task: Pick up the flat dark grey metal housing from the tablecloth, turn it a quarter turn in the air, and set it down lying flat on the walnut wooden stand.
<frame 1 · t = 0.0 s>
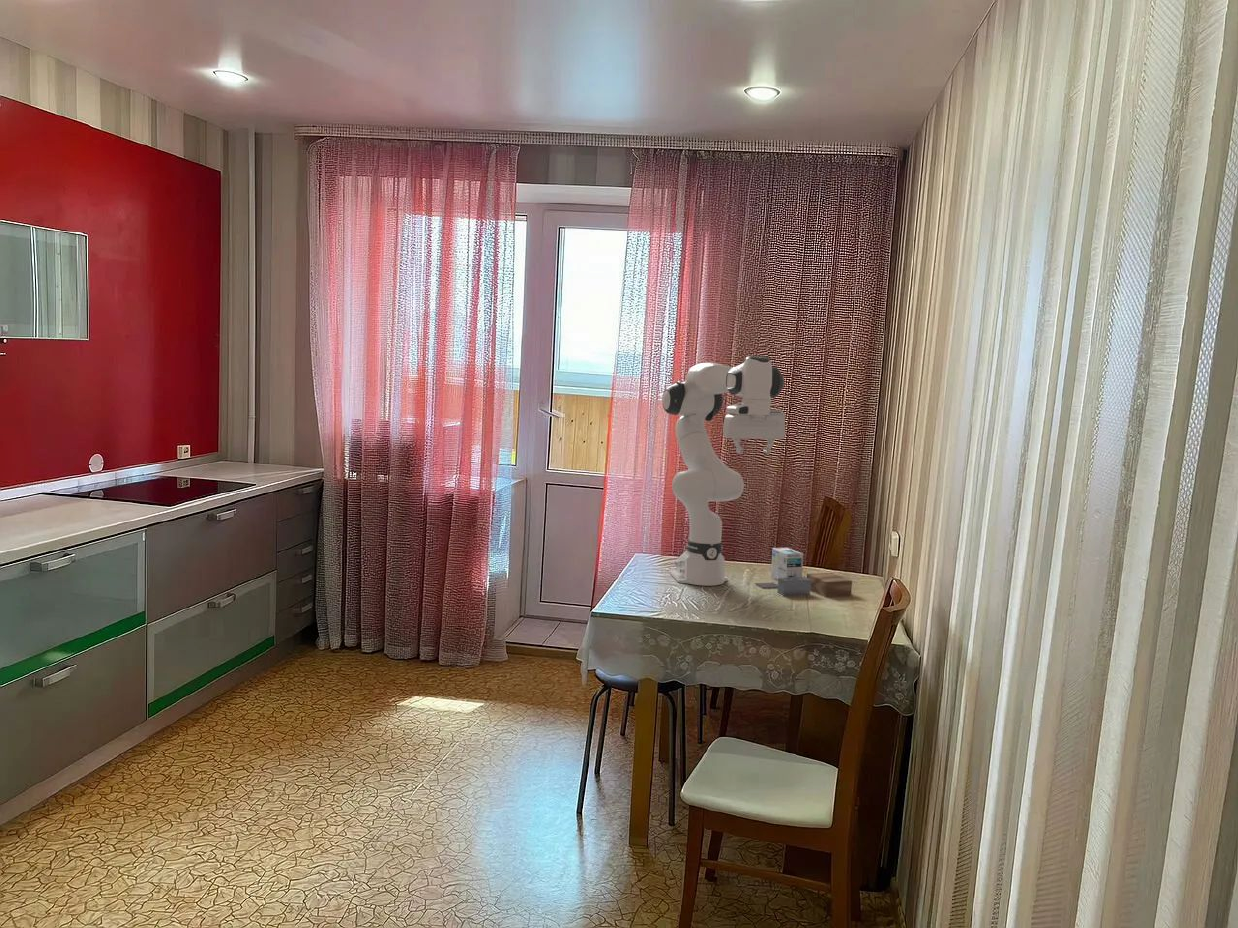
hand: (753, 453, 288), 48 cm above the table, tool pointing down, fingers open, 8 cm apart
wooden stand: (828, 591, 315), on the table
light bulb box: (785, 580, 330), on the table
metal housing: (793, 594, 309), on the table
loose cover plate: (767, 587, 319), on the table
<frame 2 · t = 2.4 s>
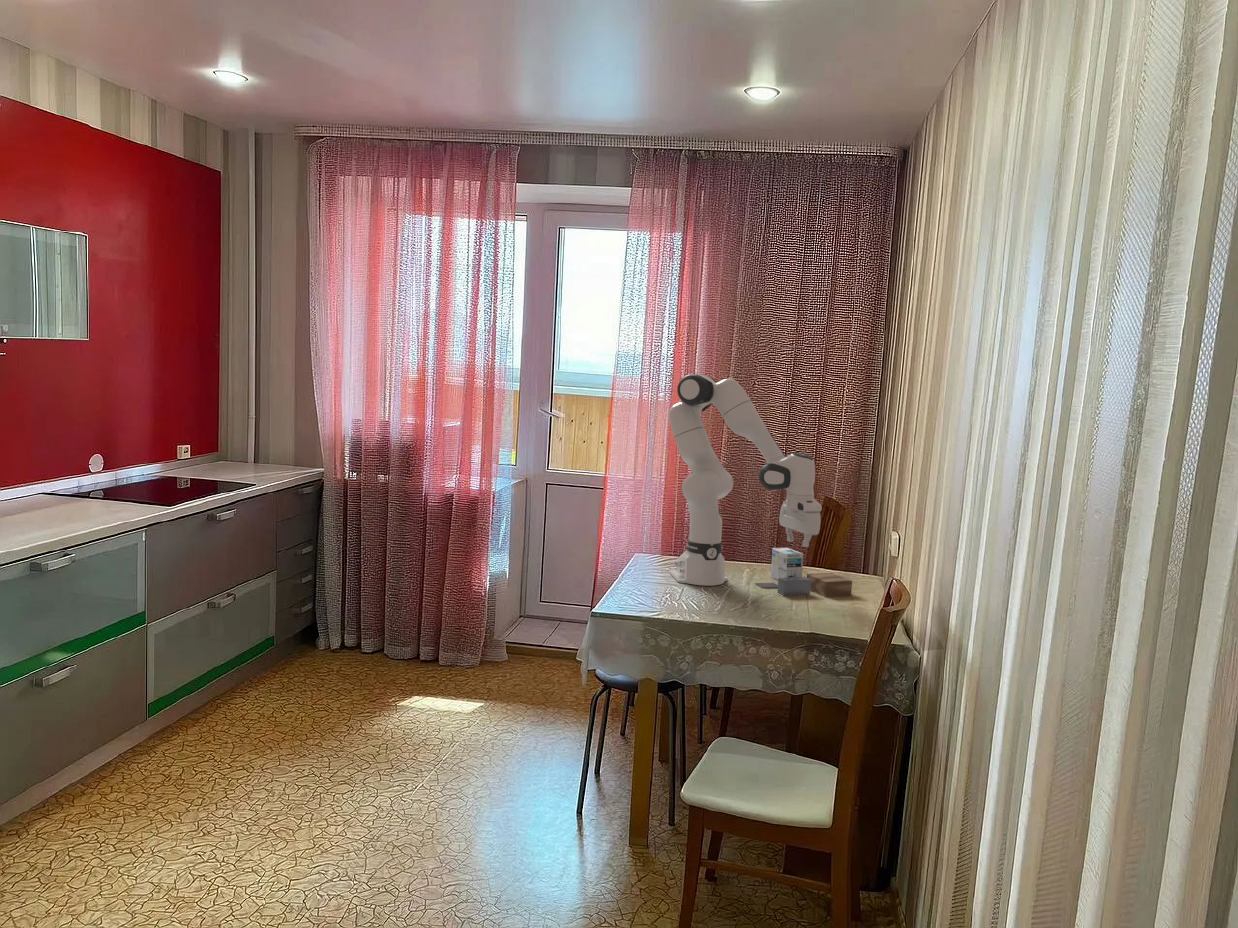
hand: (797, 543, 307), 17 cm above the table, tool pointing down, fingers open, 8 cm apart
nothing on the table moved.
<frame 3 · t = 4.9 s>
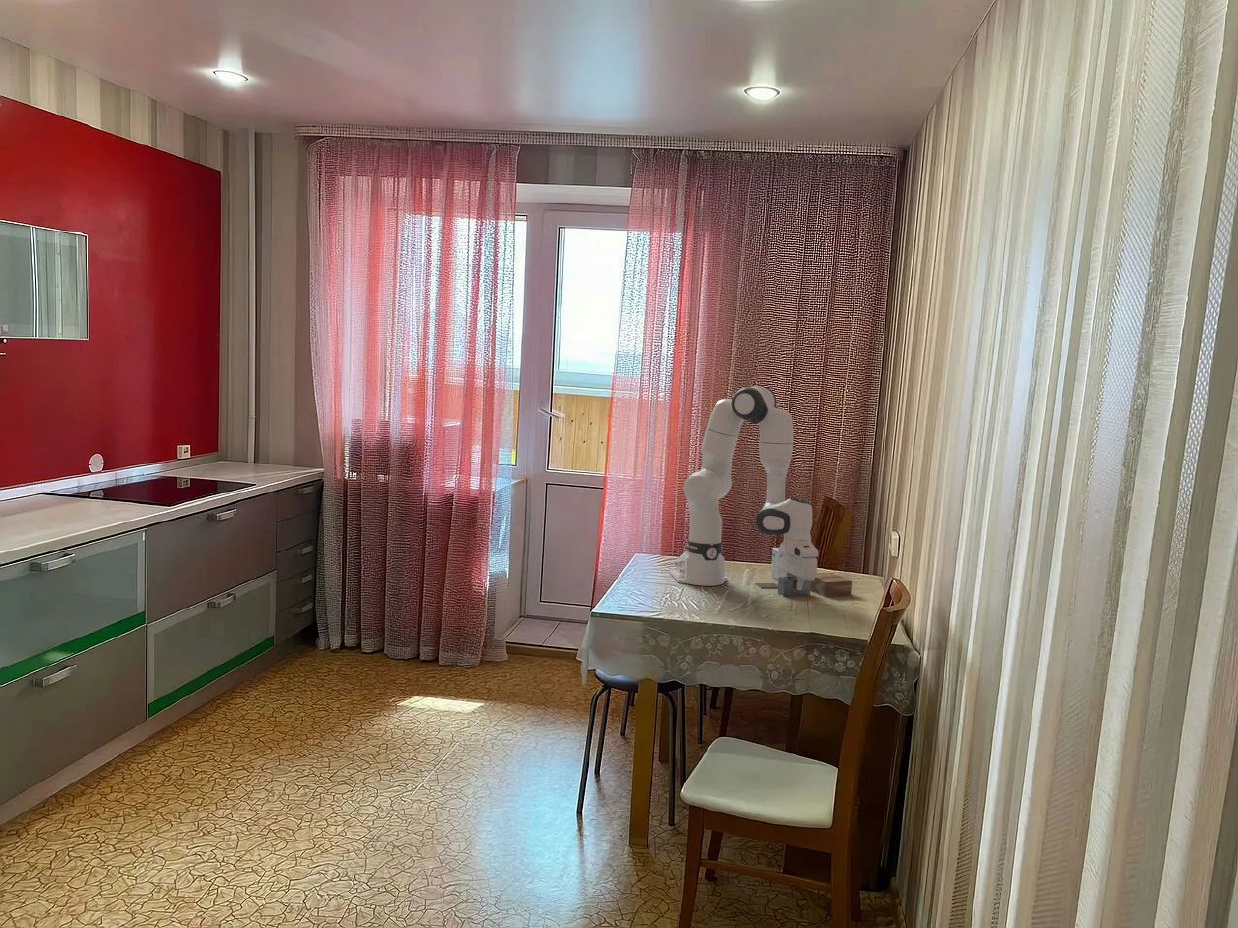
hand: (794, 587, 309), 2 cm above the table, tool pointing down, fingers closed on metal housing, 4 cm apart
metal housing: (793, 594, 309), on the table, touching gripper
everything else where it was.
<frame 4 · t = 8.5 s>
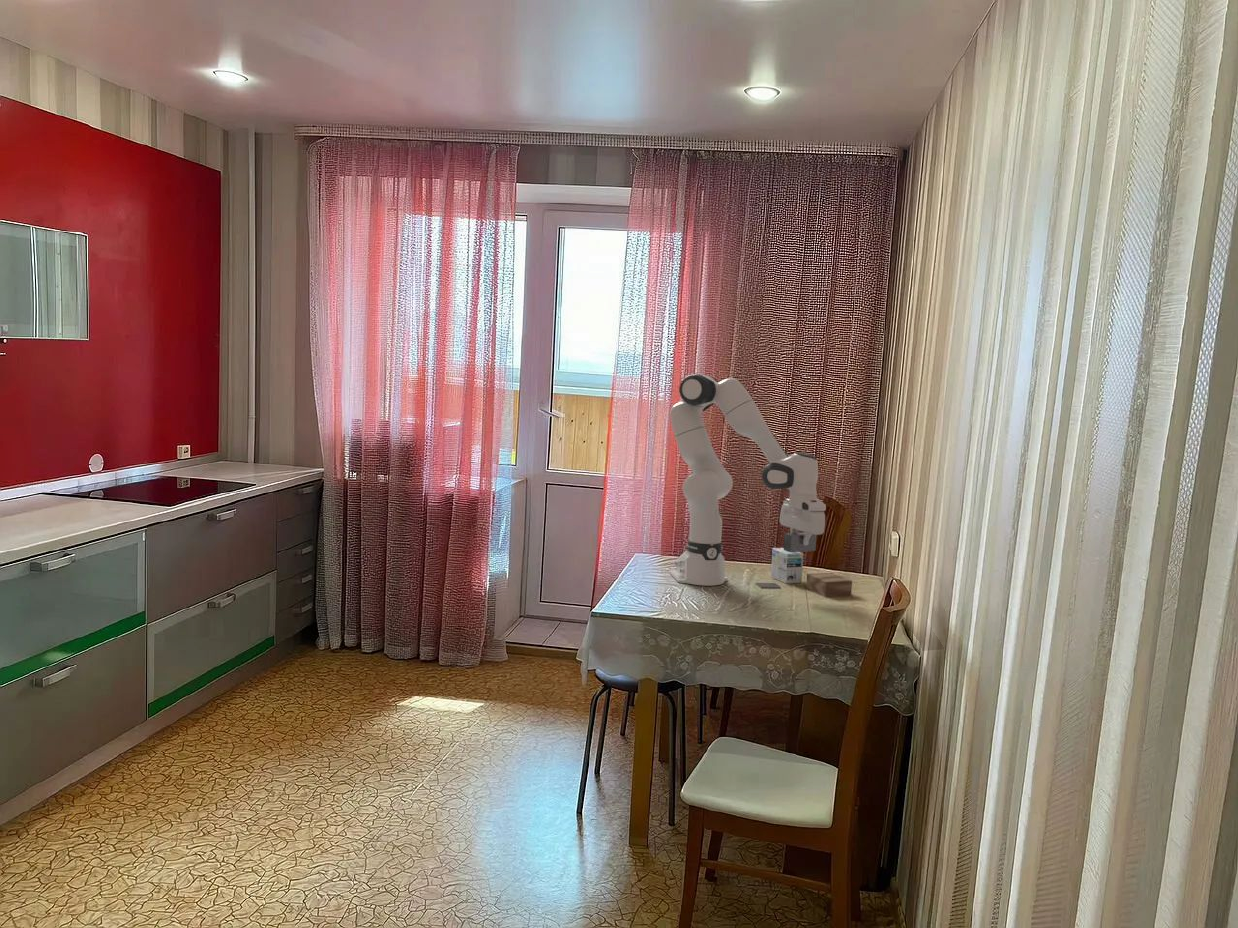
hand: (800, 543, 308), 17 cm above the table, tool pointing down, fingers closed on metal housing, 4 cm apart
metal housing: (799, 550, 308), point 15 cm above the table, touching gripper
everything else where it was.
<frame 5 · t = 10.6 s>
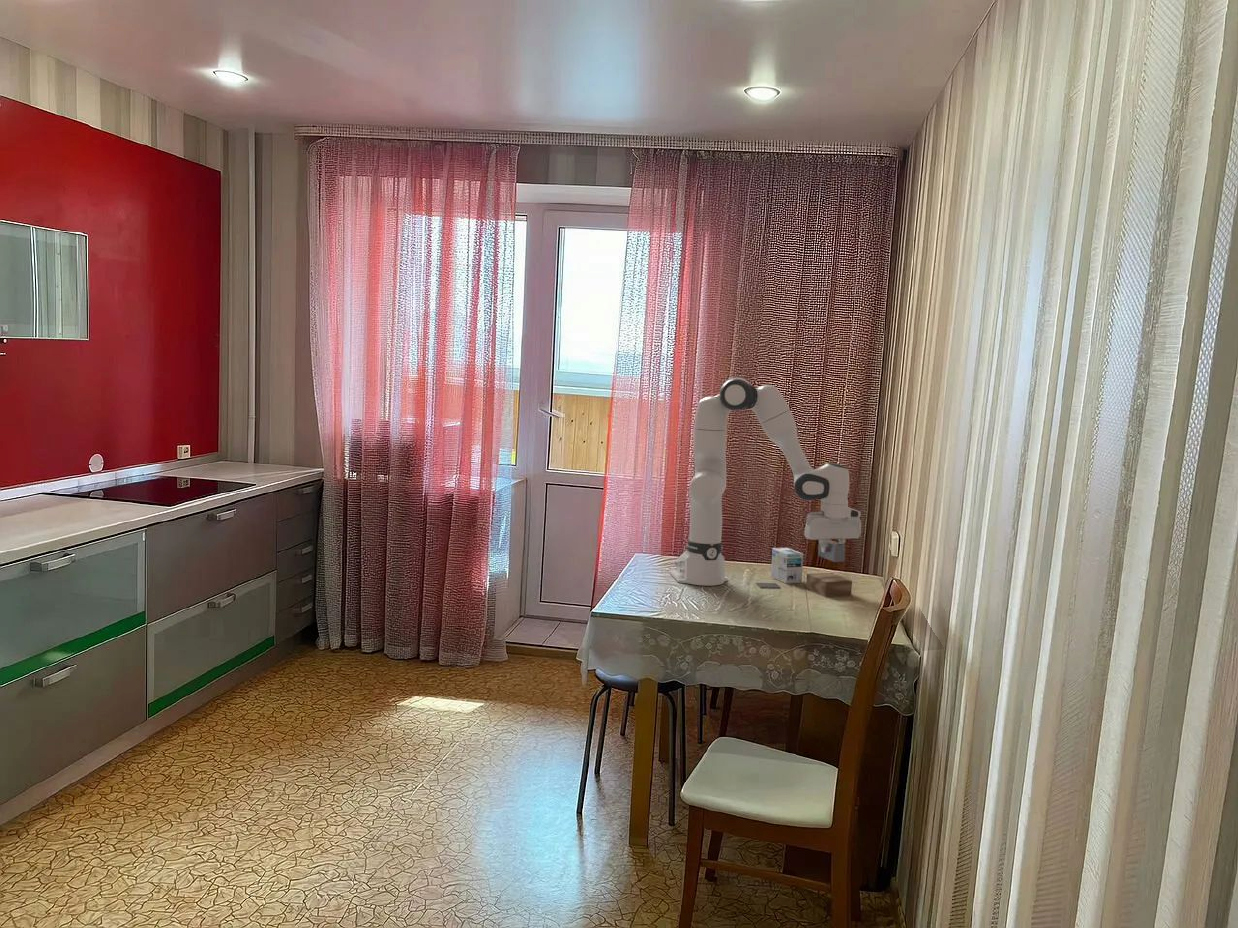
hand: (831, 551, 313), 14 cm above the table, tool pointing down, fingers closed on metal housing, 4 cm apart
metal housing: (831, 558, 314), point 11 cm above the table, touching gripper
everything else where it was.
when the fingers open (9 cm above the table, at t = 12.4 s): metal housing drops 1 cm, resting on wooden stand.
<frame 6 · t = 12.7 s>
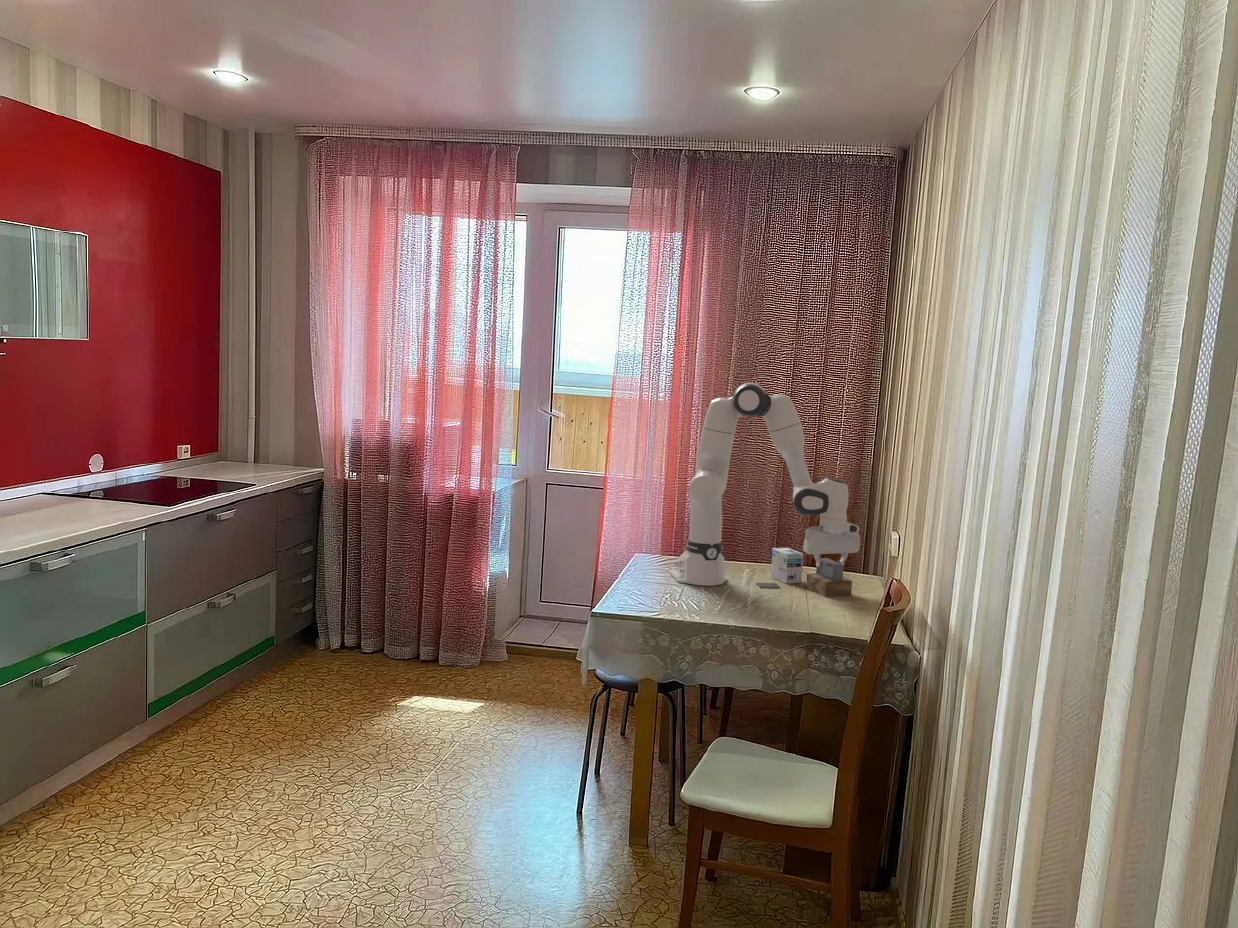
hand: (829, 566, 314), 9 cm above the table, tool pointing down, fingers open, 7 cm apart
metal housing: (829, 577, 314), point 5 cm above the table, touching wooden stand
everything else where it was.
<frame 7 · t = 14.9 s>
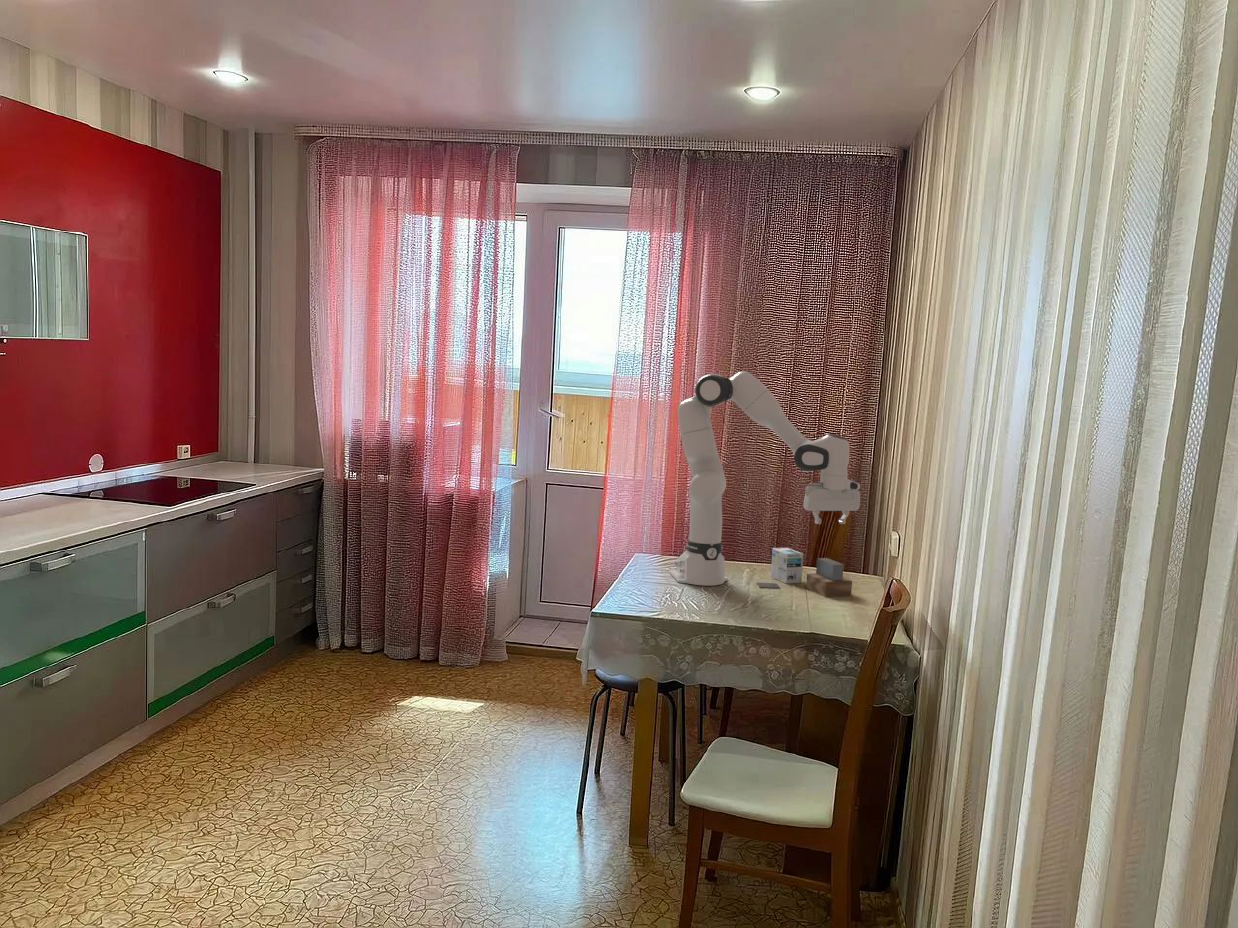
hand: (829, 523, 312), 23 cm above the table, tool pointing down, fingers open, 8 cm apart
nothing on the table moved.
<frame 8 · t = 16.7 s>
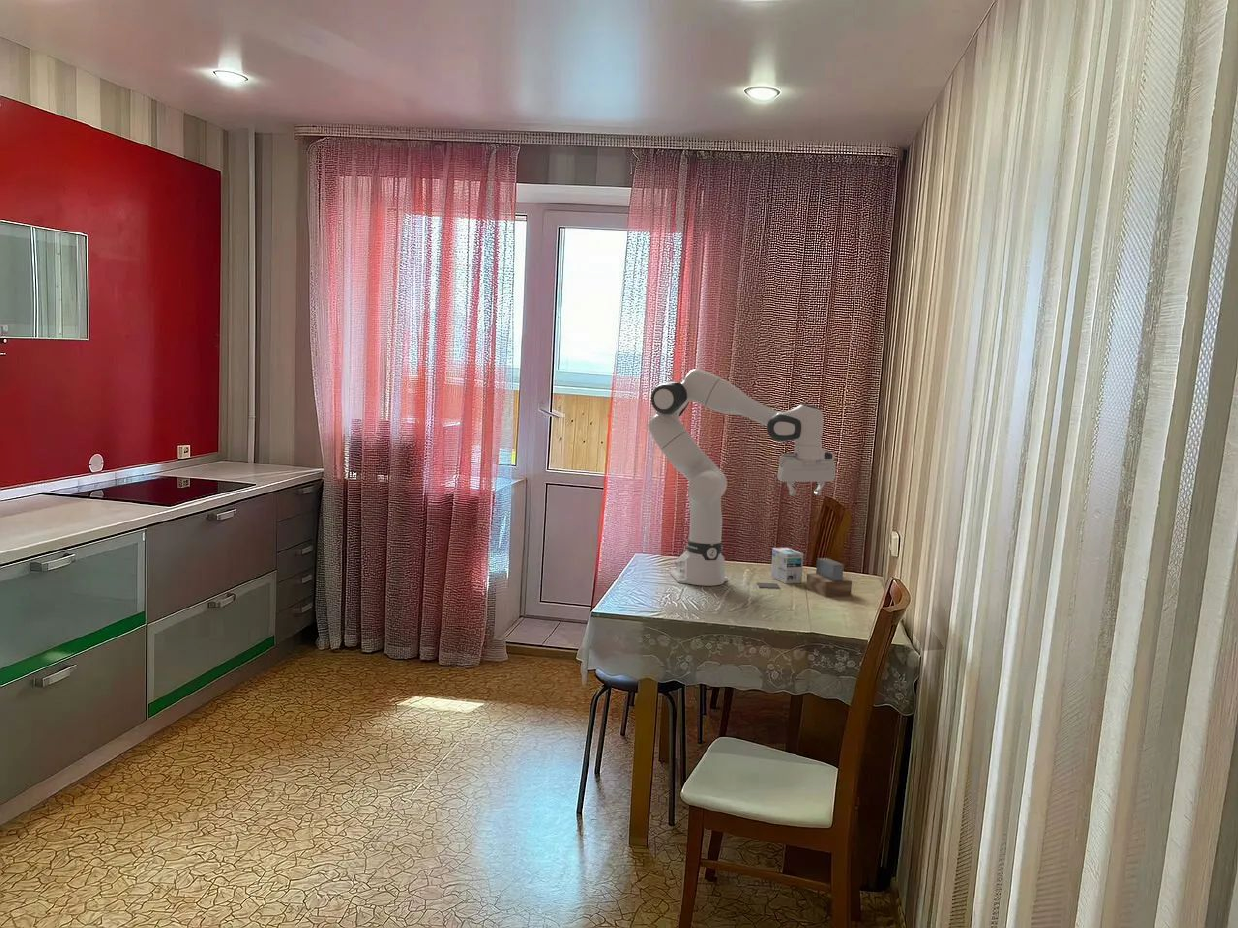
hand: (805, 494, 308), 33 cm above the table, tool pointing down, fingers open, 8 cm apart
nothing on the table moved.
at the end: metal housing 0.1 cm off-centre on the wooden stand, point 5.0 cm above the wooden stand's base; metal housing tilted 0°; the gripper is holding nothing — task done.
